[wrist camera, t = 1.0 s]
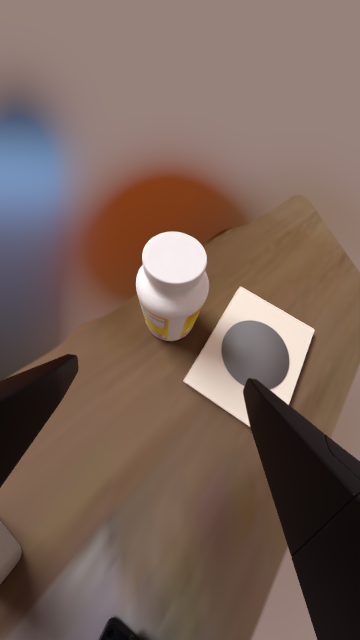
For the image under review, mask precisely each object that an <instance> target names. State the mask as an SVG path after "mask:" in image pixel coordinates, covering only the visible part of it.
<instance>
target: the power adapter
mask: <svg viewBox="0 0 360 640" xmlns="http://www.w3.org/2000/svg"><path fill="white" fill-rule="evenodd" d="M21 554H22V549H21V546H20V545H19V543H18V542H17V541H16V539H15V538H14V537H13V536H12V534H11V533H10V532H9V530H8V529H7V528H6V527H5V525H4V524H3V523H2V521H1V520H0V584H1V583H2V582H3V580H4V579H5V578H6V577H7V575H8V574H9V573H10V572H11V570H12V569H13V568H14V567H15V565H16V564H17V563H18V561H19V560H20V557H21Z"/></svg>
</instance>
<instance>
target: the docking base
mask: <svg viewBox="0 0 360 640" xmlns="http://www.w3.org/2000/svg"><path fill="white" fill-rule="evenodd" d="M314 330H315V329H313V328H311V327H310V326H308V325H306V324H304V323H303V322H301V321H299V320H298V319H296V318H294V317H292V316H291V315H289V314H287V313H286V312H284V311H282V310H280V309H279V308H277V307H275V306H273V305H272V304H270V303H268V302H267V301H265V300H263V299H261V298H260V297H258V296H256V295H255V294H253V293H251V292H249V291H248V290H246V289H244V288H242V287H241V286H240V288H239V289H238V290H237V292H236V293H235V295H234V297H233V298H232V300H231V302H230V303H229V305H228V307H227V308H226V310H225V312H224V314H223V315H222V317H221V319H220V320H219V322H218V324H217V325H216V327H215V329H214V330H213V332H212V334H211V335H210V337H209V339H208V340H207V342H206V344H205V345H204V347H203V349H202V350H201V352H200V354H199V355H198V357H197V359H196V360H195V362H194V364H193V365H192V367H191V369H190V370H189V372H188V374H187V375H186V377H185V379H184V380H183V382H184V383H186V384H187V385H189V386H190V387H192V388H193V389H195V390H196V391H198V392H199V393H200V394H202V395H203V396H205V397H206V398H208V399H209V400H211V401H212V402H214V403H215V404H216V405H218V406H219V407H221V408H222V409H224V410H225V411H227V412H228V413H230V414H231V415H232V416H234V417H235V418H237V419H238V420H240V421H241V422H243V423H244V424H246V425H247V426H249V427H250V424H249V420H248V415H247V410H246V405H245V401H244V396H243V389H244V386H245V384H246V381H247V379H248V378H254V379H257V380H258V381H259V382H261V383H262V384H263V385H264V386H266V387H267V388H268V389H269V390H271V391H272V392H273V393H274V394H276V395H277V396H278V397H279V398H281V399H282V400H283V401H284V402H286V403H287V404H288V405H289V403H290V400H291V397H292V394H293V391H294V388H295V385H296V382H297V380H298V377H299V374H300V371H301V368H302V365H303V362H304V359H305V356H306V353H307V351H308V348H309V345H310V342H311V339H312V336H313V333H314ZM250 428H251V427H250Z"/></svg>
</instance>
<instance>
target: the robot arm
mask: <svg viewBox="0 0 360 640" xmlns="http://www.w3.org/2000/svg"><path fill="white" fill-rule="evenodd" d="M77 372H78V358H77V356H76V355H72V354H67V355H64V356H62V357H59V358H57V359H54V360H52V361H49V362H47V363H44V364H42V365H39V366H37V367H34V368H32V369H29V370H27V371H24V372H22V373H19V374H17V375H14V376H11V377H9V378H6V379H4V380H1V381H0V487H1V486H2V484H3V483H4V482H5V480H6V479H7V477H8V476H9V475H10V473H11V472H12V470H13V469H14V467H15V466H16V465H17V463H18V462H19V460H20V459H21V457H22V456H23V455H24V453H25V452H26V450H27V449H28V448H29V446H30V445H31V443H32V442H33V440H34V439H35V438H36V436H37V435H38V433H39V432H40V430H41V429H42V428H43V426H44V425H45V423H46V422H47V421H48V419H49V418H50V416H51V415H52V413H53V412H54V411H55V409H56V408H57V406H58V405H59V403H60V402H61V400H62V399H63V397H64V395H65V394H66V392H67V390H68V388H69V387H70V385H71V383H72V381H73V380H74V378H75V376H76V374H77ZM243 396H244V401H245V405H246V410H247V415H248V420H249V424H250V427H251V430H252V433H253V437H254V440H255V443H256V446H257V449H258V452H259V456H260V459H261V462H262V465H263V468H264V471H265V475H266V478H267V481H268V484H269V487H270V490H271V494H272V497H273V500H274V503H275V506H276V509H277V513H278V516H279V519H280V522H281V525H282V528H283V532H284V535H285V538H286V541H287V544H288V547H289V551H290V554H291V556H292V561H293V563H294V567H295V570H296V573H297V576H298V580H299V583H300V586H301V589H302V592H303V595H304V598H305V602H306V605H307V608H308V611H309V614H310V617H311V621H312V624H313V627H314V630H315V633H316V636H317V640H360V461H359V460H357V459H356V458H355V457H353V456H352V455H351V454H349V453H348V452H347V451H346V450H344V449H343V448H342V447H340V446H339V445H338V444H337V443H335V442H334V441H333V440H332V439H330V438H329V437H328V436H327V435H324V433H323V432H322V431H320V430H319V429H318V428H317V427H315V426H314V425H313V424H312V423H310V422H309V421H308V420H307V419H305V418H304V417H303V416H302V415H301V414H299V413H298V412H297V411H296V410H294V409H293V408H292V407H291V406H289V405H288V404H287V403H286V402H284V401H283V400H282V399H281V398H279V397H278V396H277V395H276V394H274V393H273V392H272V391H271V390H269V389H268V388H267V387H266V386H264V385H263V384H262V383H261V382H259V381H258V380H257V379H254V378H248V379H247V381H246V384H245V386H244V389H243ZM109 629H113V630H114V631H112V632H110V631H109ZM99 640H139V639H138V638H136V637H135V636H134V635H133V634H132V633H131V632H130V631H129V630H128V629H127V628H125V627H124V626H123V625H122V624H121V623H120V622H119V621H118V620H117V619H116V618H111V619H109V621H108V622H107V624H106V626H105V628H104V630H103V632H102V634H101V636H100V638H99Z"/></svg>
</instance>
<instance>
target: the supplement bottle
mask: <svg viewBox="0 0 360 640" xmlns="http://www.w3.org/2000/svg"><path fill="white" fill-rule="evenodd" d="M142 260H143V265H142V266H141V268H140V270H139V272H138V274H137V278H136V289H137V294H138V298H139V301H140V304H141V307H142V311H143V314H144V317H145V321H146V324H147V326H148V328H149V330H150V331H151V332H152V333H153V334H154V335H155V336H156V337H158V338H160V339H162V340H166V341H175V340H179V339H181V338H183V337H185V336H186V335H187V334H188V333H189V332H190V330H191V329H192V327H193V325H194V323H195V321H196V319H197V317H198V314H199V312H200V310H201V308H202V306H203V304H204V302H205V300H206V298H207V295H208V291H209V281H208V277H207V274H206V272H205V268H206V264H207V256H206V252H205V250H204V248H203V247H202V245H201V244H200V243H199V242H198V241H197V240H196V239H195V238H193V237H191V236H189V235H187V234H184V233H180V232H165V233H162V234H159V235H157V236H155V237H153V238H152V239H150V240H149V241H148V243H147V244H146V245H145V248H144V250H143V254H142Z"/></svg>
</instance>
